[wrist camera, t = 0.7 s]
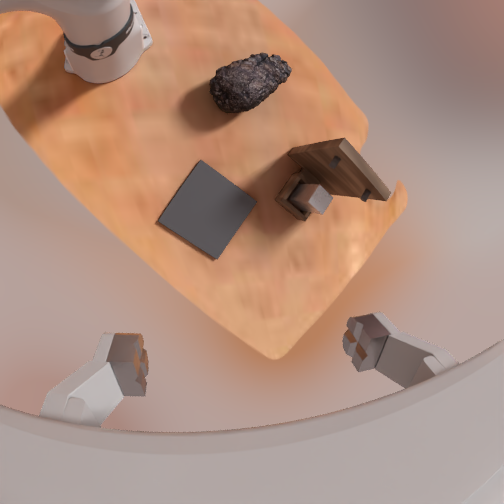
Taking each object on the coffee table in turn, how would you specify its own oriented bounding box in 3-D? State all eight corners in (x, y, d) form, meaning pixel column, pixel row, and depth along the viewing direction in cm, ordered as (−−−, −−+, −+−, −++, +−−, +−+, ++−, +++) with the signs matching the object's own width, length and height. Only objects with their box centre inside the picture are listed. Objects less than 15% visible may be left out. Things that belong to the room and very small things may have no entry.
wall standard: (308, 228, 62) (361, 244, 45) (262, 190, 56) (307, 193, 40) (335, 187, 62) (391, 192, 45) (292, 147, 56) (344, 137, 40)
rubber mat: (158, 220, 51) (158, 221, 50) (200, 160, 51) (200, 159, 50) (216, 258, 56) (217, 259, 56) (255, 201, 56) (257, 201, 55)
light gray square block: (297, 209, 60) (322, 214, 50) (284, 198, 58) (308, 201, 49) (307, 194, 60) (333, 197, 50) (294, 183, 58) (319, 184, 49)
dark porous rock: (288, 81, 52) (311, 66, 43) (230, 127, 51) (245, 116, 42) (257, 48, 48) (276, 28, 39) (195, 91, 47) (204, 73, 38)
